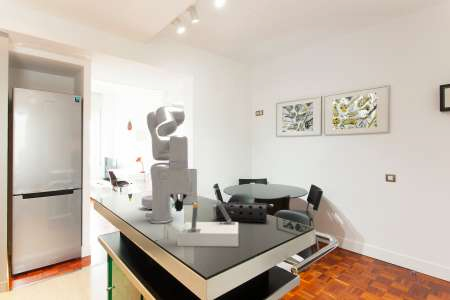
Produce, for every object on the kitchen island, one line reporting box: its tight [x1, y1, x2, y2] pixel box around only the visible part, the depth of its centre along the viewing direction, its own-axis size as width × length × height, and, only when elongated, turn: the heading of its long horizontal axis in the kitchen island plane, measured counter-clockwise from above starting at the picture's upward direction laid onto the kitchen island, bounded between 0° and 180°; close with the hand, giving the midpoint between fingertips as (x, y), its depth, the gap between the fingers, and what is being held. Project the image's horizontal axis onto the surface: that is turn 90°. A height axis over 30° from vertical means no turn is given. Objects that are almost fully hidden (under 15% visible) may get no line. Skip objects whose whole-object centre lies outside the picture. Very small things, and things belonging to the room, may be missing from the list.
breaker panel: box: [176, 221, 239, 247], centre depth 104 cm, size 24×16×5 cm
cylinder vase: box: [183, 168, 198, 205], centre depth 181 cm, size 12×12×25 cm
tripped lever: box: [191, 202, 199, 231], centre depth 99 cm, size 2×4×11 cm, turn 176°
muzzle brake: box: [212, 200, 268, 223], centre depth 131 cm, size 10×28×10 cm, turn 78°
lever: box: [216, 199, 232, 224], centre depth 109 cm, size 2×4×11 cm
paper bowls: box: [141, 194, 152, 210], centre depth 164 cm, size 15×15×8 cm
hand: (179, 210), depth 99 cm, fingers closed
